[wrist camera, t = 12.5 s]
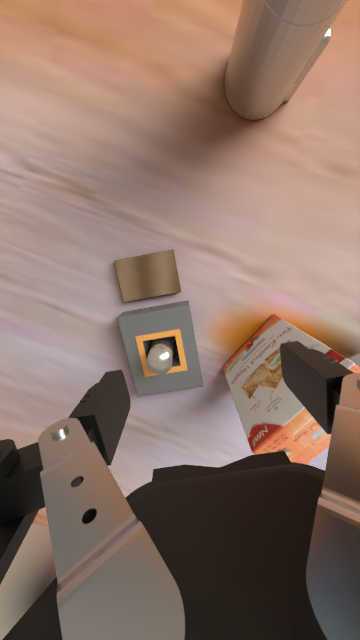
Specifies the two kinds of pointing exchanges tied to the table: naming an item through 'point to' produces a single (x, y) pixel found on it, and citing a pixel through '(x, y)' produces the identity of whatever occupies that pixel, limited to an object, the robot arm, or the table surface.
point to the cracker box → (276, 394)
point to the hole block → (153, 326)
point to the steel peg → (160, 356)
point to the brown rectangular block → (148, 275)
